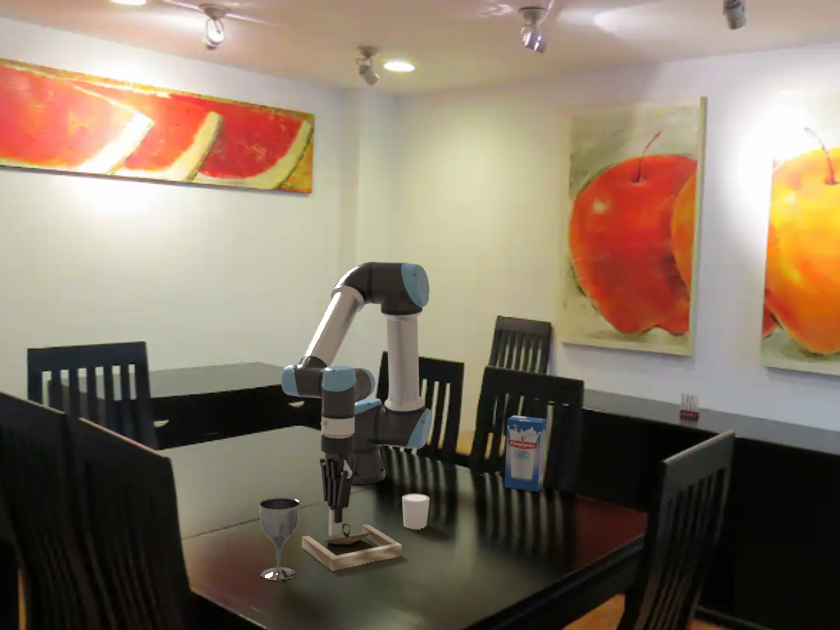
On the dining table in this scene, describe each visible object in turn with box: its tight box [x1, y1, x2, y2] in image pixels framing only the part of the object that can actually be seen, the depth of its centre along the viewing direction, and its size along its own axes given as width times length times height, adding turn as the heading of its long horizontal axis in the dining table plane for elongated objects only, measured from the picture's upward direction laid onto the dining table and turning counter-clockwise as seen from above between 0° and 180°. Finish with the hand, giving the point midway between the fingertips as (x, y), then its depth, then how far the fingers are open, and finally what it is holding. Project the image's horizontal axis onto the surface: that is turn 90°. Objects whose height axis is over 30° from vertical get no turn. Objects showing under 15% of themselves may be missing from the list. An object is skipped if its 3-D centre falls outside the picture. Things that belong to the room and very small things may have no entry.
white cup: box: [401, 493, 431, 530], centre depth 193 cm, size 7×7×7 cm
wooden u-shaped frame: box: [301, 523, 403, 572], centre depth 175 cm, size 17×15×2 cm
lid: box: [323, 523, 371, 545], centre depth 178 cm, size 11×10×5 cm
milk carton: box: [504, 415, 547, 493], centre depth 228 cm, size 10×6×20 cm, turn 68°
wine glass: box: [259, 496, 300, 581], centre depth 161 cm, size 8×8×15 cm
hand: (335, 534), depth 181 cm, fingers closed
